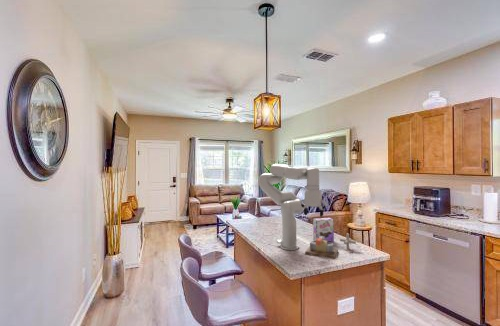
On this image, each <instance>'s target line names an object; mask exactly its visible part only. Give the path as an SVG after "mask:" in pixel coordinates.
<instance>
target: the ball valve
mask: <svg viewBox="0 0 500 326" xmlns="http://www.w3.org/2000/svg"><path fill="white" fill-rule="evenodd" d="M334 246H335V245H334V243H328V242H327V241H326V240H322V244H321V245H316V244H315V241H314V240H311V242H310V243H309V247H310V250H311V251H313V250H315V251H316V252H323V253H326V252H329V253H333V252H334V249H335V247H334Z"/></svg>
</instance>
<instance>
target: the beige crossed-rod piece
mask: <svg viewBox="0 0 500 326" xmlns="http://www.w3.org/2000/svg"><path fill="white" fill-rule="evenodd" d="M345 236H346V237H345V238H339V241H340V242H343V244H344V245H345V247H346V250H350V244H357V241H356V240H352V238H351V237H350V233H346V234H345Z"/></svg>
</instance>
